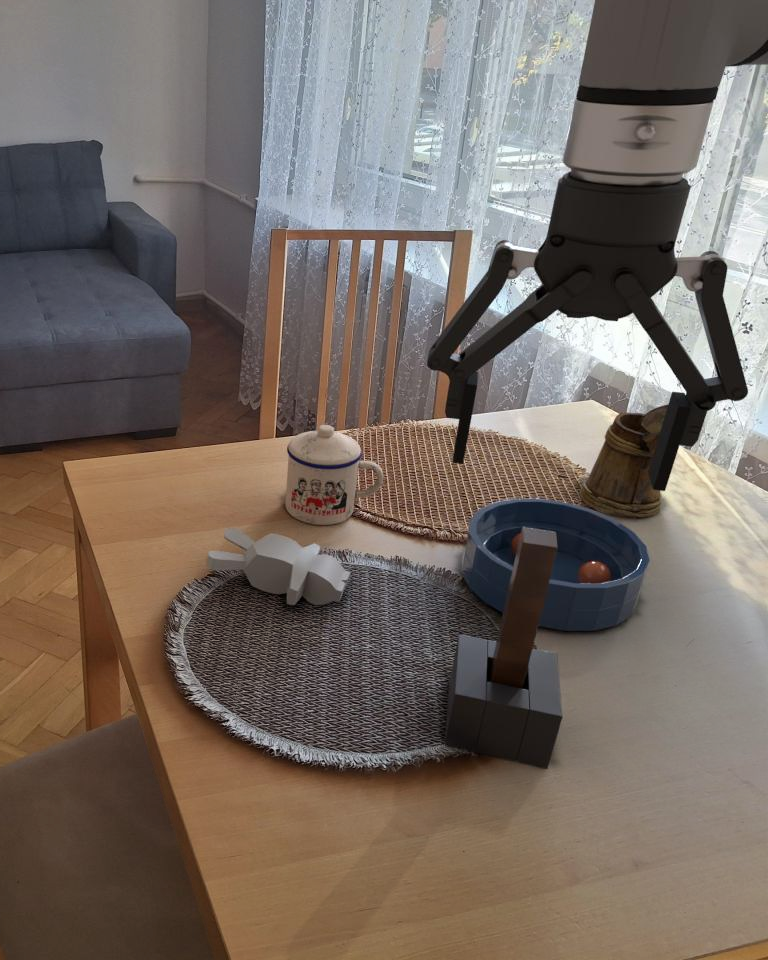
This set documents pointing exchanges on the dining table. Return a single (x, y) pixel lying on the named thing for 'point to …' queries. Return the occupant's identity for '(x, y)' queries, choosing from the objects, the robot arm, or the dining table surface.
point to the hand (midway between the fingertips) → (553, 468)
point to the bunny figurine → (283, 567)
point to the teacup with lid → (325, 476)
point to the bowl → (558, 561)
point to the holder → (503, 706)
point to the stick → (523, 606)
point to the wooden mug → (626, 467)
